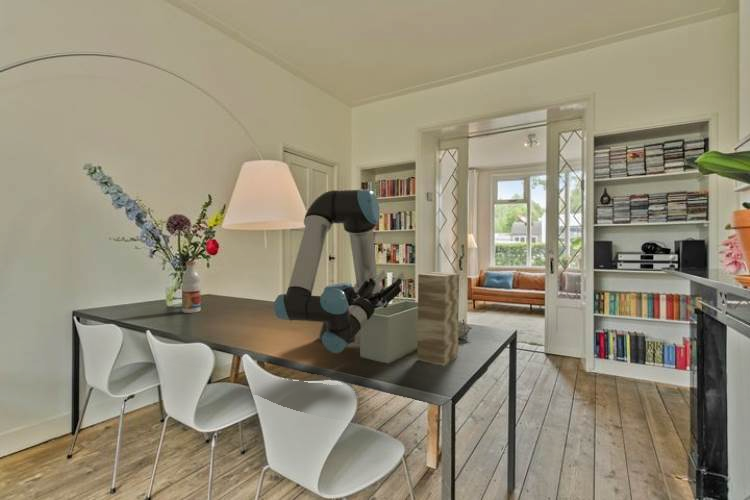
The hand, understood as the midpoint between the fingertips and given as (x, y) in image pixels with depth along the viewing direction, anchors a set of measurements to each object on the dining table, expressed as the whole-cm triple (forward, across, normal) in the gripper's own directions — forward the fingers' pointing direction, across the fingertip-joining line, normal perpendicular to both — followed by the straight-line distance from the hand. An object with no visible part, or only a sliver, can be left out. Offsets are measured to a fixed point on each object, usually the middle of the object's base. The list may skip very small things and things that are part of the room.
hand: (393, 273), depth 133 cm
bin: (-11, 0, -28) cm, 30 cm away
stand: (-10, +16, -28) cm, 34 cm away
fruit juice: (-23, -131, -23) cm, 135 cm away
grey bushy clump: (+14, +13, -42) cm, 46 cm away
